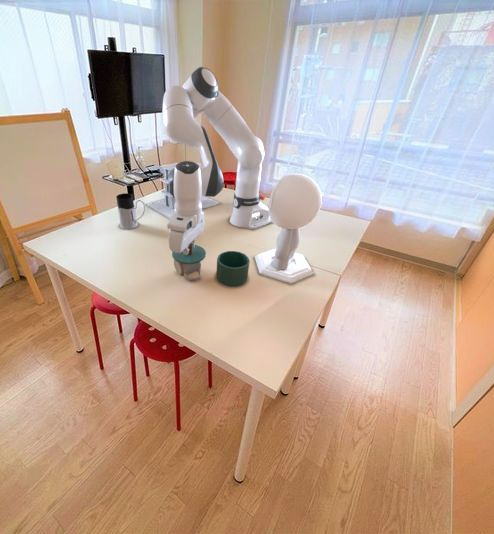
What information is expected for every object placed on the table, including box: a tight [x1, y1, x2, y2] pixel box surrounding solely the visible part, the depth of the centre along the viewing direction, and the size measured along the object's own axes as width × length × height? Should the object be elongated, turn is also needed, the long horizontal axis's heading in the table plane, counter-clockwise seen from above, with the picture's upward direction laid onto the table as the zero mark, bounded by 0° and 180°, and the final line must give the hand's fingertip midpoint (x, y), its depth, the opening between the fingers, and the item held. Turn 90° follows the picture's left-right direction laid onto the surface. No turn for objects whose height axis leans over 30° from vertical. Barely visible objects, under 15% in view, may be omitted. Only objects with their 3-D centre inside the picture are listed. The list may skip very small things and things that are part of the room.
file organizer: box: [146, 161, 220, 219], centre depth 152 cm, size 26×35×22 cm
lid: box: [171, 243, 207, 264], centre depth 97 cm, size 12×12×5 cm
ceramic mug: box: [173, 259, 202, 282], centre depth 100 cm, size 11×8×8 cm
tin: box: [215, 250, 251, 288], centre depth 98 cm, size 11×11×8 cm
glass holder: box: [116, 192, 146, 230], centre depth 131 cm, size 9×14×15 cm, turn 74°
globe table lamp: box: [254, 172, 323, 285], centre depth 96 cm, size 20×23×35 cm
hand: (188, 251), depth 97 cm, fingers closed on lid, 3 cm apart
